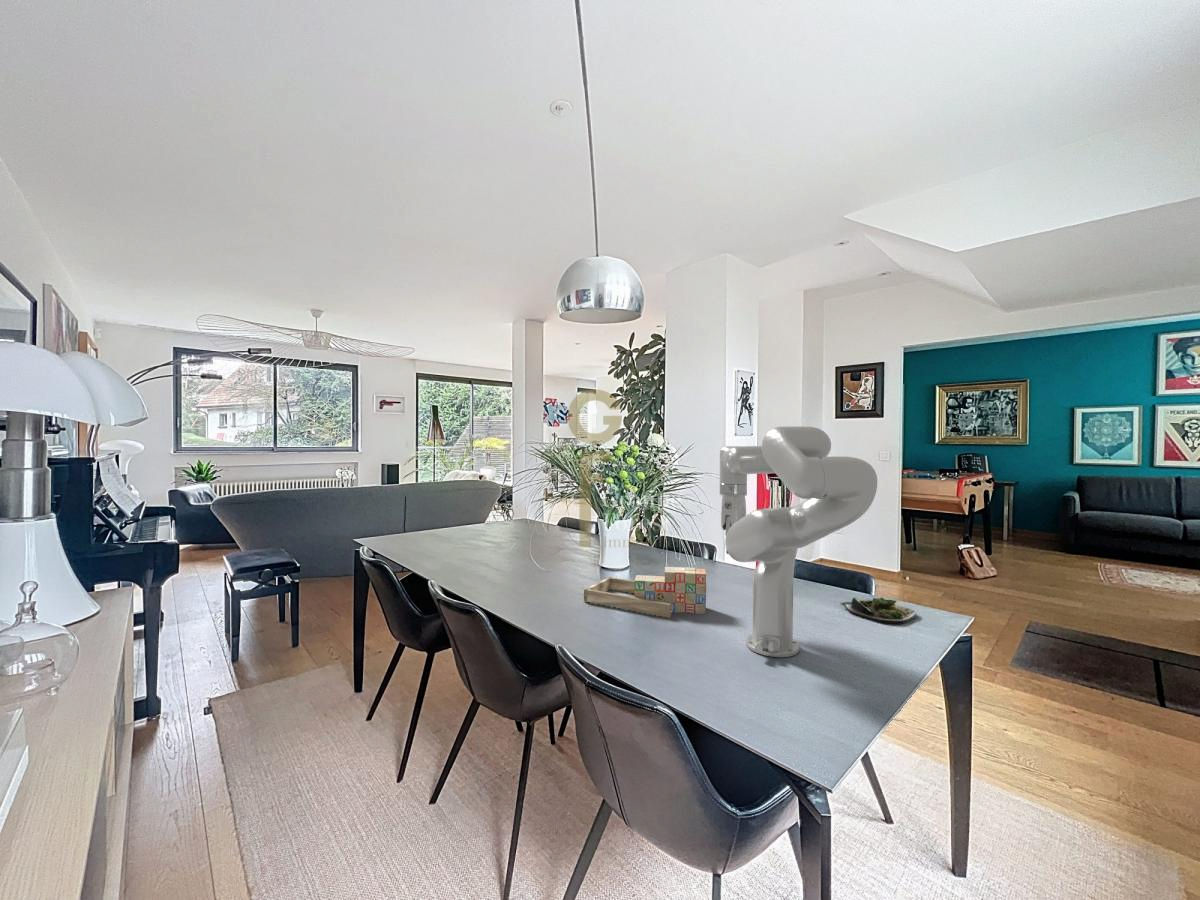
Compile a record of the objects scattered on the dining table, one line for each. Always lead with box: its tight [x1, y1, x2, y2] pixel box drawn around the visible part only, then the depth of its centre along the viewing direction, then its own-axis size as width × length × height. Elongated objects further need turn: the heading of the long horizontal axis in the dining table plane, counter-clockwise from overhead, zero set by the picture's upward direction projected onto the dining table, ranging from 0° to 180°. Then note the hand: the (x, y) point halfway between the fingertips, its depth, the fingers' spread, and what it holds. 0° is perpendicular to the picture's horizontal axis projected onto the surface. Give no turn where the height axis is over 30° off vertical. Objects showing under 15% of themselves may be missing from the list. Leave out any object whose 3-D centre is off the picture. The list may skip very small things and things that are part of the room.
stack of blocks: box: [634, 566, 707, 615], centre depth 157 cm, size 21×6×12 cm, turn 80°
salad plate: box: [839, 597, 917, 626], centre depth 154 cm, size 19×18×5 cm
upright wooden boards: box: [583, 576, 672, 619], centre depth 163 cm, size 16×29×4 cm, turn 60°
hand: (732, 553), depth 147 cm, fingers closed
